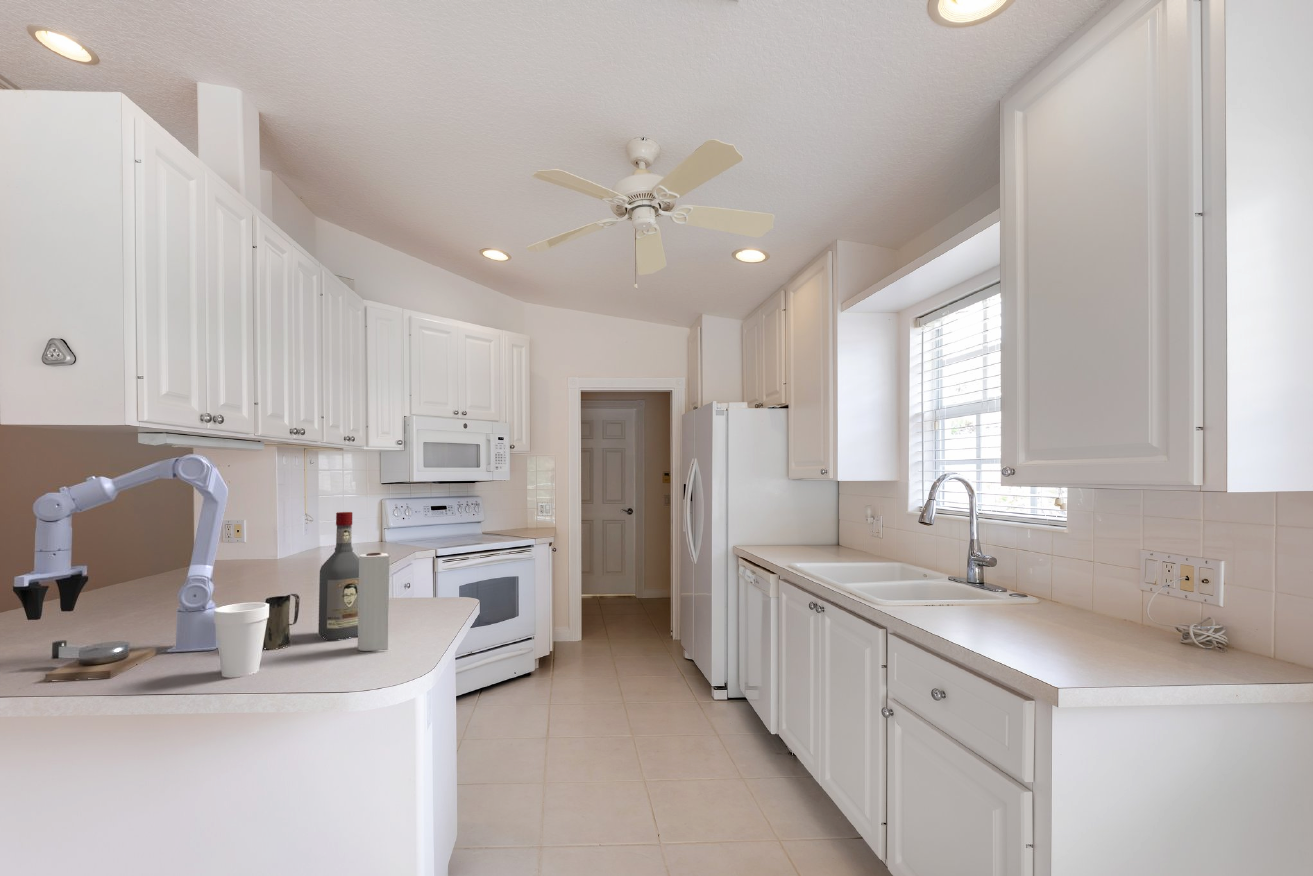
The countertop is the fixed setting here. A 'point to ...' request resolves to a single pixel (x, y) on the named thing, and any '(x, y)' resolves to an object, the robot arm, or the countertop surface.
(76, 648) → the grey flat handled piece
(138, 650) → the wooden board
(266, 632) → the mug
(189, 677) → the countertop surface
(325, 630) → the liquor
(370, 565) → the paper towel roll
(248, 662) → the foam cup
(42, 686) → the countertop surface
